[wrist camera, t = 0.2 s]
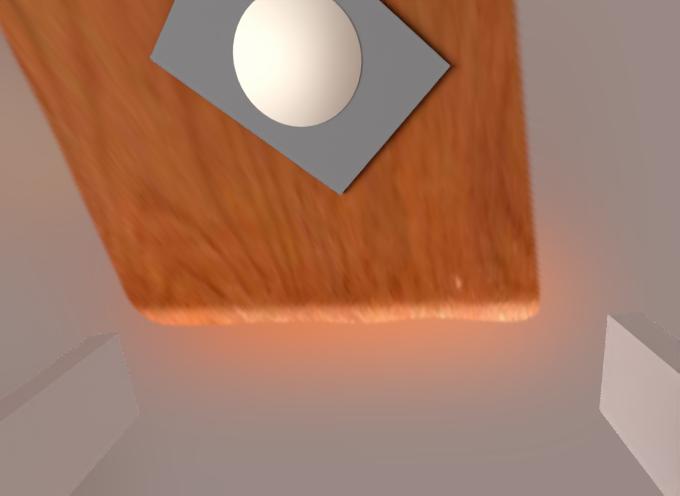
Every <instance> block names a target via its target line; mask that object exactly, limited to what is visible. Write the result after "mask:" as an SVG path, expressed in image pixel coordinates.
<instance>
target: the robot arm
mask: <svg viewBox="0 0 680 496" xmlns="http://www.w3.org/2000/svg"><path fill="white" fill-rule="evenodd" d="M600 411H601V412H602V414H603V415H604V416H605V418H606V419H607V420H608V422H609V423H610V424H611V425H612V427H613V428H614V430H615V431H616V432H617V433H618V435H619V436H620V437H621V439H622V440H623V441H624V442H625V444H626V445H627V447H628V448H629V449H630V451H631V452H632V453H633V455H634V456H635V457H636V459H637V460H638V461H639V462H640V464H641V465H642V467H643V468H644V469H645V471H646V472H647V473H648V474H649V476H650V477H651V478H652V480H653V481H654V482H655V484H656V485H657V486H658V488H659V489H660V490H661V492H662V493H663V494H664V496H680V340H679V339H677V338H676V337H675V336H673V335H672V334H670V333H669V332H668V331H666V330H665V329H664V328H662V327H661V326H659V325H658V324H657V323H655V322H654V321H652V320H651V319H650V318H648V317H647V316H645V315H644V314H643V313H630V314H629V313H628V314H608V320H607V331H606V342H605V354H604V366H603V377H602V389H601V399H600ZM139 414H140V412H139V409H138V405H137V401H136V398H135V394H134V390H133V387H132V383H131V379H130V376H129V372H128V368H127V365H126V361H125V357H124V354H123V350H122V346H121V342H120V339H119V336H118V333H107V334H93V335H92V336H90V337H89V338H87V339H86V340H85V341H83V342H82V343H80V344H79V345H77V346H76V347H75V348H73V349H72V350H70V351H69V352H68V353H66V354H65V355H63V356H62V357H60V358H59V359H57V360H56V361H55V362H53V363H52V364H50V365H49V366H47V367H46V368H44V369H43V370H42V371H40V372H39V373H37V374H36V375H34V376H33V377H31V378H30V379H29V380H27V381H26V382H24V383H23V384H21V385H20V386H19V387H17V388H16V389H14V390H13V391H11V392H10V393H9V394H7V395H6V396H4V397H3V398H2V399H0V496H69V495H70V494H71V493H72V492H73V491H74V489H75V488H76V487H77V486H78V485H79V484H80V483H81V481H82V480H83V479H84V478H85V477H86V476H87V474H88V473H89V472H90V471H91V470H92V469H93V467H94V466H95V465H96V464H97V463H98V462H99V461H100V459H101V458H102V457H103V456H104V455H105V454H106V453H107V451H108V450H109V449H110V448H111V447H112V446H113V445H114V443H115V442H116V441H117V440H118V439H119V437H121V435H122V434H123V433H124V432H125V431H126V430H127V428H128V427H129V426H130V425H131V424H132V423H133V422H134V420H135V419H136V418H137V417H138V416H139Z"/></svg>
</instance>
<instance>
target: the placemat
mask: <svg viewBox="0 0 680 496" xmlns="http://www.w3.org/2000/svg"><path fill="white" fill-rule="evenodd" d="M150 59H151V60H152V61H153V62H155V63H156V64H158V65H159V66H160V67H162V68H163V69H165V70H166V71H167V72H169V73H170V74H172V75H173V76H174V77H176V78H177V79H179V80H180V81H181V82H183V83H184V84H186V85H187V86H188V87H190V88H191V89H193V90H194V91H195V92H197V93H198V94H200V95H201V96H202V97H204V98H205V99H207V100H208V101H209V102H211V103H212V104H214V105H215V106H216V107H218V108H219V109H220V110H222V111H223V112H225V113H226V114H227V115H229V116H230V117H232V118H233V119H234V120H236V121H237V122H239V123H240V124H241V125H243V126H244V127H246V128H247V129H248V130H250V131H251V132H253V133H254V134H255V135H257V136H258V137H260V138H261V139H262V140H264V141H265V142H267V143H268V144H269V145H271V146H272V147H274V148H275V149H276V150H278V151H279V152H281V153H282V154H283V155H285V156H286V157H287V158H289V159H290V160H292V161H293V162H294V163H296V164H297V165H299V166H300V167H301V168H303V169H304V170H306V171H307V172H308V173H310V174H311V175H313V176H314V177H315V178H317V179H318V180H320V181H321V182H322V183H324V184H325V185H327V186H328V187H329V188H331V189H332V190H334V191H335V192H336V193H338V194H339V195H341V194H342V193H343V191H344V190H345V189H346V188H347V187H348V186H349V184H350V183H351V182H352V181H353V180H354V179H355V177H356V176H357V175H358V174H359V173H360V172H361V170H362V169H363V168H364V167H365V166H366V164H367V163H368V162H369V161H370V160H371V159H372V157H373V156H374V155H375V154H376V153H377V152H378V150H379V149H380V148H381V147H382V146H383V145H384V143H385V142H386V141H387V140H388V139H389V137H390V136H391V135H392V134H393V133H394V132H395V130H396V129H397V128H398V127H399V126H400V125H401V123H402V122H403V121H404V120H405V119H406V118H407V116H408V115H409V114H410V113H411V112H412V110H413V109H414V108H415V107H416V106H417V105H418V103H419V102H420V101H421V100H422V99H423V98H424V96H425V95H426V94H427V93H428V92H429V90H430V89H431V88H432V87H433V86H434V85H435V83H436V82H437V81H438V80H439V79H440V78H441V76H442V75H443V74H444V73H445V72H446V71H447V69H448V68H449V67H450V65H449V64H448V63H447V62H446V61H445V60H444V59H443V58H441V57H440V56H439V55H438V54H437V53H436V52H435V51H434V50H433V49H432V48H431V47H430V46H428V45H427V44H426V43H425V42H424V41H423V40H422V39H421V38H420V37H419V36H418V35H417V34H415V33H414V32H413V31H412V30H411V29H410V28H409V27H408V26H407V25H406V24H405V23H403V22H402V21H401V20H400V19H399V18H398V17H397V16H396V15H395V14H394V13H393V12H392V11H390V10H389V9H388V8H387V7H386V6H385V5H384V4H383V3H382V2H381V1H380V0H175V2H174V4H173V6H172V9H171V11H170V13H169V16H168V18H167V20H166V22H165V25H164V27H163V29H162V32H161V34H160V36H159V38H158V41H157V43H156V45H155V47H154V50H153V52H152V54H151V57H150Z"/></svg>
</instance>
